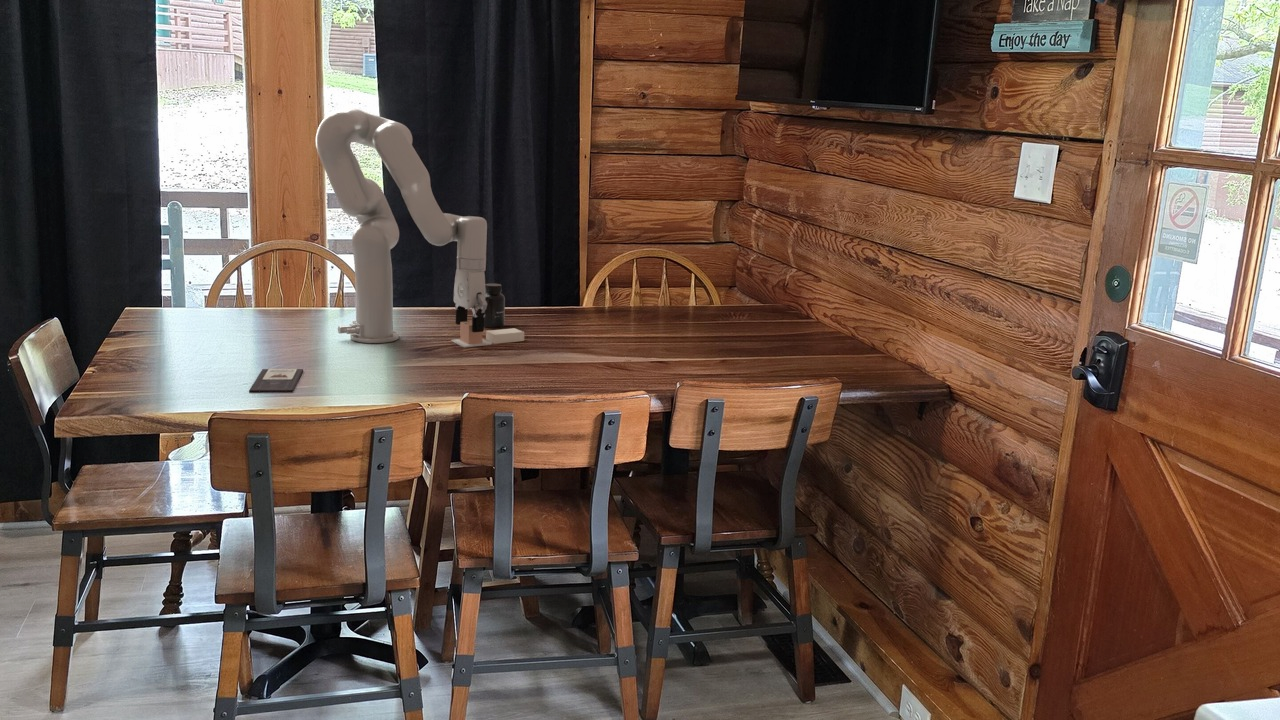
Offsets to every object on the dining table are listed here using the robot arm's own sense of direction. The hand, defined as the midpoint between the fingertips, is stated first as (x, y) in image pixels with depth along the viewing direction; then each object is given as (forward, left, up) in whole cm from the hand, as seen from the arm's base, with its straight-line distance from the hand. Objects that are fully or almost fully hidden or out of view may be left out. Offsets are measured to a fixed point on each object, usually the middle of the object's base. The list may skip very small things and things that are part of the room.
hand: (469, 327), depth 280 cm
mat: (+1, 0, -4) cm, 4 cm away
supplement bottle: (+15, +17, -4) cm, 23 cm away
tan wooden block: (0, 0, -4) cm, 4 cm away
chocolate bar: (-56, -17, -5) cm, 58 cm away
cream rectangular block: (+10, -1, -4) cm, 11 cm away
